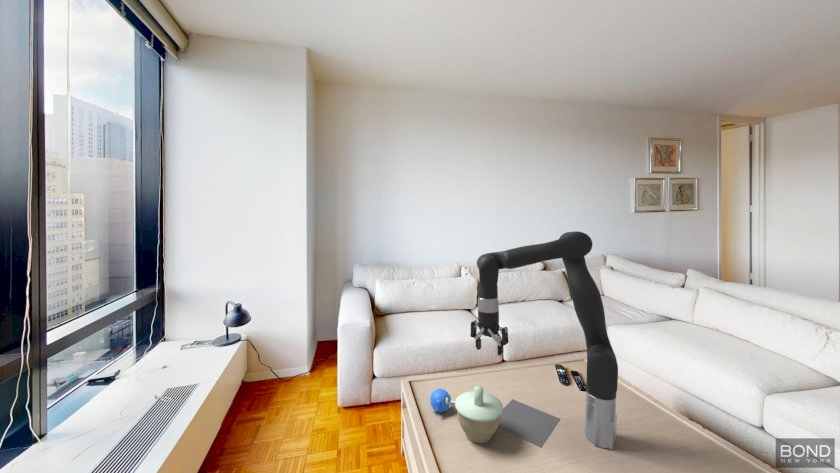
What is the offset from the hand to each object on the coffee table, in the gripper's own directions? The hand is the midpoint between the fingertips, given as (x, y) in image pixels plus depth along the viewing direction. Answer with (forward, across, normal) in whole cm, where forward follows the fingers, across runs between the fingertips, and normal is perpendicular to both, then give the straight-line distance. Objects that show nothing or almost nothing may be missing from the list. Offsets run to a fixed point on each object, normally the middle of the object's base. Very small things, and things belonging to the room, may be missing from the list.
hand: (489, 351), depth 116 cm
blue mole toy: (+30, +20, +2) cm, 36 cm away
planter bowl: (+30, +2, +5) cm, 31 cm away
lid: (+19, +2, +5) cm, 20 cm away
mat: (+30, -8, -12) cm, 34 cm away
